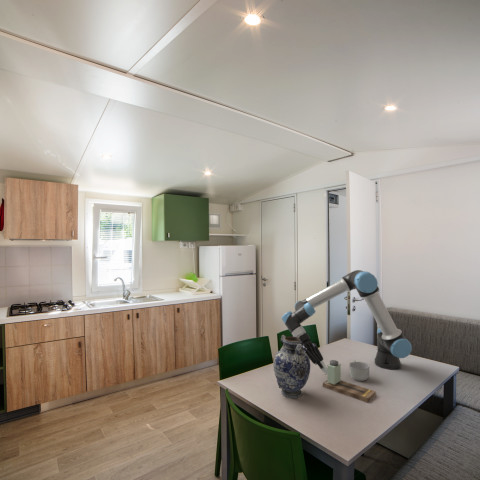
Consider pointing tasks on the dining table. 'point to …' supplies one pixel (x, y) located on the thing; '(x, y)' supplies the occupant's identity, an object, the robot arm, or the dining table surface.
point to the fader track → (351, 390)
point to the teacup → (359, 370)
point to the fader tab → (334, 372)
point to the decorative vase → (291, 367)
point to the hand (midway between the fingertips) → (327, 373)
